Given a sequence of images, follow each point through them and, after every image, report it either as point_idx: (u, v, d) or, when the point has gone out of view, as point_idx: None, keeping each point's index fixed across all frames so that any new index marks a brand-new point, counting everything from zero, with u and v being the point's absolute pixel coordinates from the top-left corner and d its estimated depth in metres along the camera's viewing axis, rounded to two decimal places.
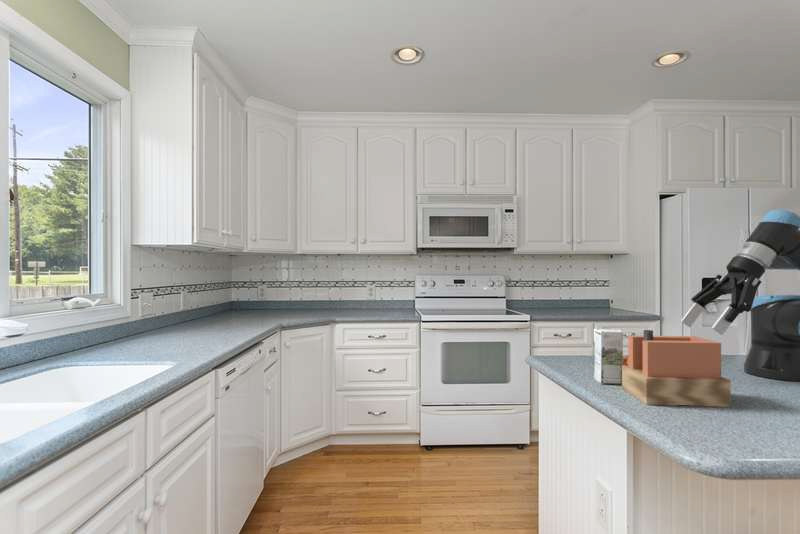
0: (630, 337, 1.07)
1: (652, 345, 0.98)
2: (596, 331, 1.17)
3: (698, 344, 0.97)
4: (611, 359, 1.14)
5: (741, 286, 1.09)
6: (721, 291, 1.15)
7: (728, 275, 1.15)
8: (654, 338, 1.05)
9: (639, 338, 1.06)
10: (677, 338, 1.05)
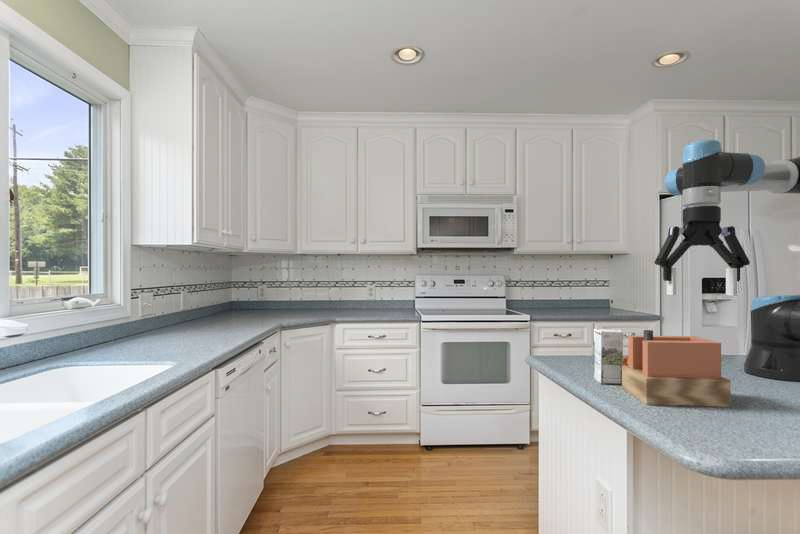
0: (630, 337, 1.07)
1: (652, 345, 0.98)
2: (596, 331, 1.17)
3: (698, 344, 0.97)
4: (611, 359, 1.14)
5: None
6: None
7: (693, 227, 1.01)
8: (654, 338, 1.05)
9: (639, 338, 1.06)
10: (677, 338, 1.05)
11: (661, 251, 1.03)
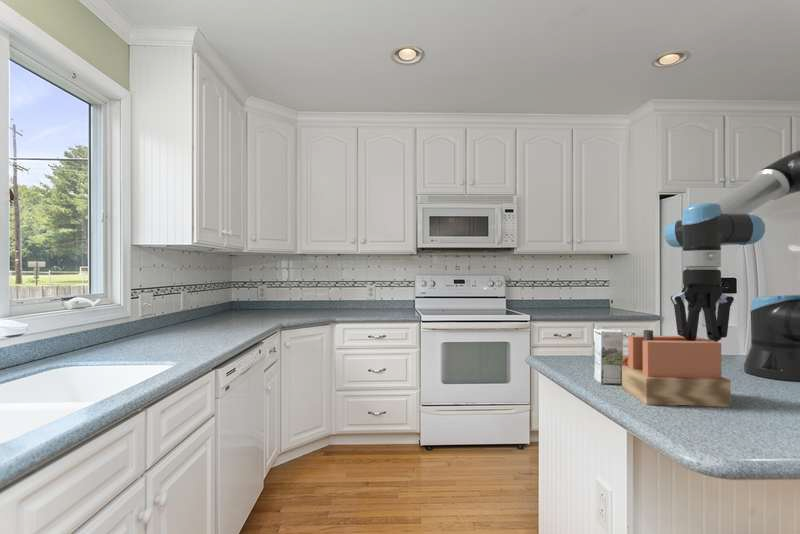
0: (630, 337, 1.07)
1: (652, 345, 0.98)
2: (596, 331, 1.17)
3: (698, 344, 0.97)
4: (611, 359, 1.14)
5: None
6: None
7: (691, 288, 1.01)
8: (654, 338, 1.05)
9: (639, 338, 1.06)
10: (677, 338, 1.05)
11: (677, 322, 1.03)
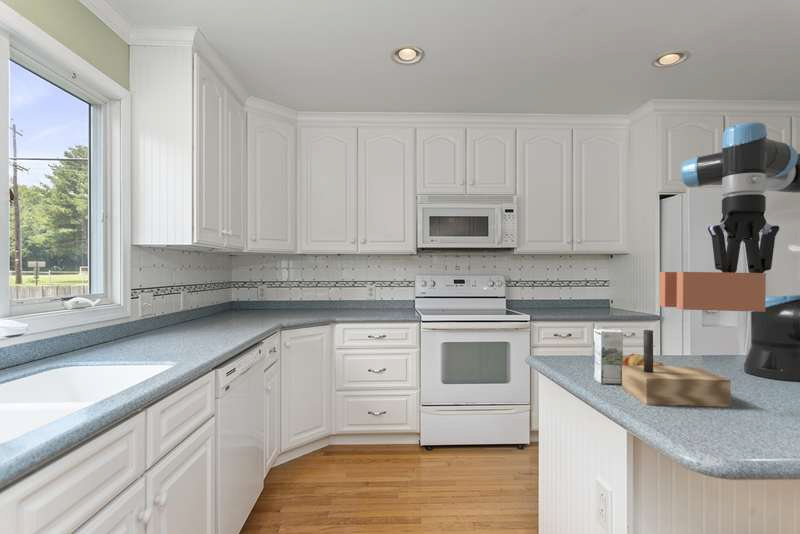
0: (662, 273, 0.99)
1: (688, 275, 0.90)
2: (596, 331, 1.17)
3: (740, 274, 0.89)
4: (611, 359, 1.14)
5: None
6: None
7: (731, 216, 0.93)
8: None
9: (672, 273, 0.97)
10: None
11: (715, 255, 0.94)
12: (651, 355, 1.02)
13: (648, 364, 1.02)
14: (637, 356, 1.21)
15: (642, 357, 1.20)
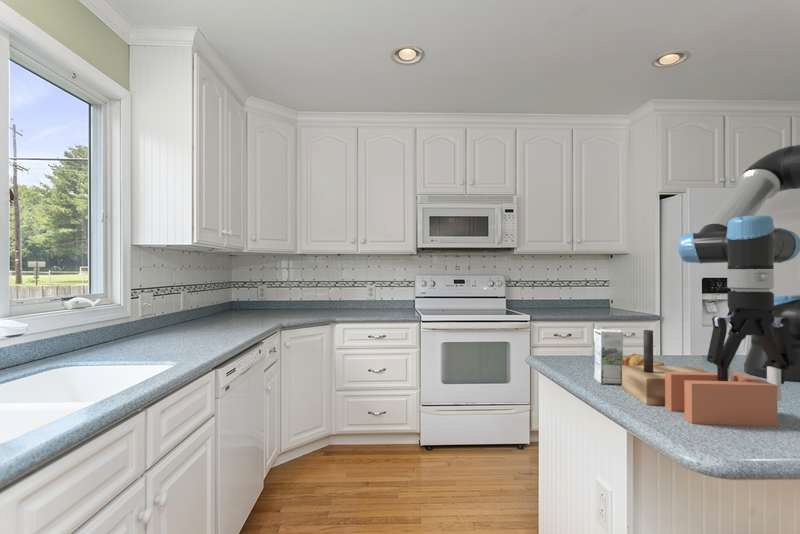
0: (667, 374, 0.94)
1: (697, 387, 0.85)
2: (596, 331, 1.17)
3: (750, 386, 0.84)
4: (611, 359, 1.14)
5: None
6: None
7: (740, 313, 0.88)
8: (695, 376, 0.92)
9: (678, 376, 0.93)
10: None
11: (711, 347, 0.90)
12: (651, 355, 1.02)
13: (648, 364, 1.02)
14: (638, 356, 1.21)
15: (643, 357, 1.21)
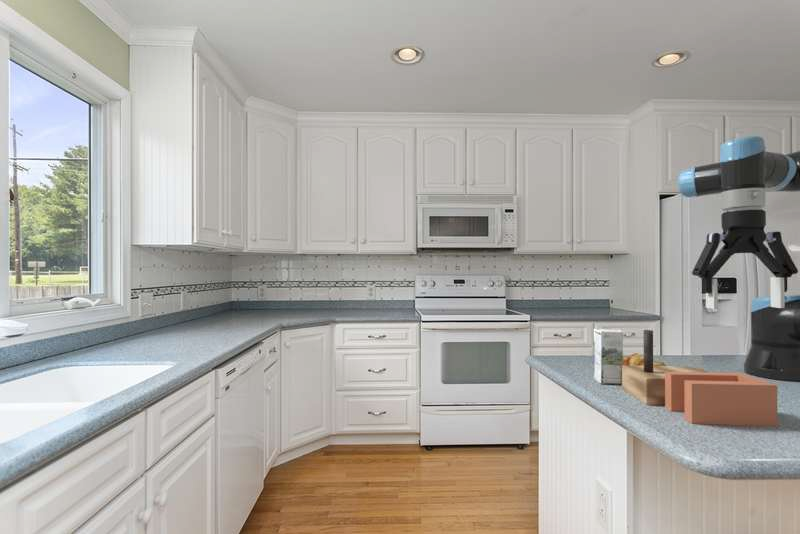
0: (667, 374, 0.94)
1: (697, 387, 0.85)
2: (596, 331, 1.17)
3: (750, 386, 0.84)
4: (611, 359, 1.14)
5: None
6: None
7: (735, 233, 0.92)
8: (696, 376, 0.92)
9: (678, 376, 0.93)
10: (722, 376, 0.92)
11: (699, 260, 0.94)
12: (651, 355, 1.02)
13: (648, 364, 1.02)
14: (639, 356, 1.21)
15: None
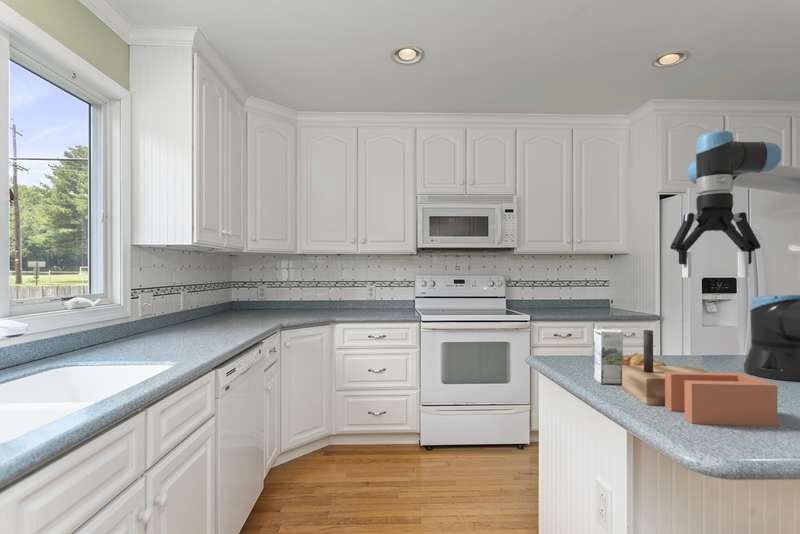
0: (667, 374, 0.94)
1: (697, 387, 0.85)
2: (596, 331, 1.17)
3: (750, 386, 0.84)
4: (611, 359, 1.14)
5: None
6: None
7: (707, 213, 1.08)
8: (696, 376, 0.92)
9: (678, 376, 0.93)
10: (722, 376, 0.92)
11: (676, 236, 1.10)
12: (651, 355, 1.02)
13: (648, 364, 1.02)
14: (639, 356, 1.21)
15: None
